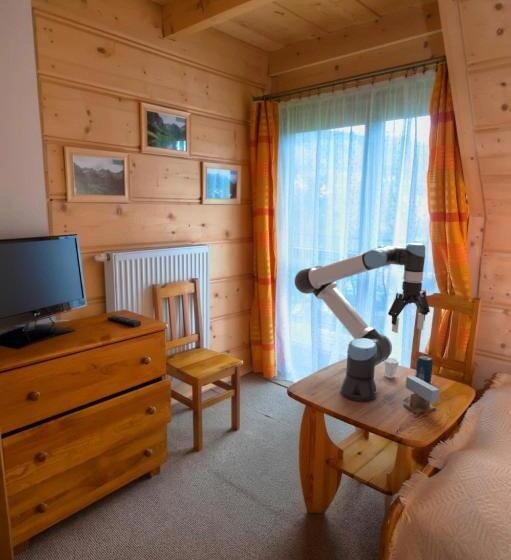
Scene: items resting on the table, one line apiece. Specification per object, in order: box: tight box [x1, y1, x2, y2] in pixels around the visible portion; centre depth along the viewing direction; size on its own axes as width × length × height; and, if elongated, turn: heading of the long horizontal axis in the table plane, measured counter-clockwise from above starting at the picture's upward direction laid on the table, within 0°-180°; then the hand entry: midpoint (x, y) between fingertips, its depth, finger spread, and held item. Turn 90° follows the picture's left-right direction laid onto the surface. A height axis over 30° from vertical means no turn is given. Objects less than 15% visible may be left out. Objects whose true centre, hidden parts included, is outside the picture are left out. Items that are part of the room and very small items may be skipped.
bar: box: [405, 375, 440, 404], centre depth 172 cm, size 4×14×5 cm, turn 23°
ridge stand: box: [403, 393, 437, 415], centre depth 173 cm, size 10×7×6 cm
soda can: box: [414, 355, 434, 384], centre depth 198 cm, size 7×7×12 cm
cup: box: [381, 357, 400, 379], centre depth 205 cm, size 7×10×8 cm
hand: (407, 330), depth 181 cm, fingers open, 13 cm apart
